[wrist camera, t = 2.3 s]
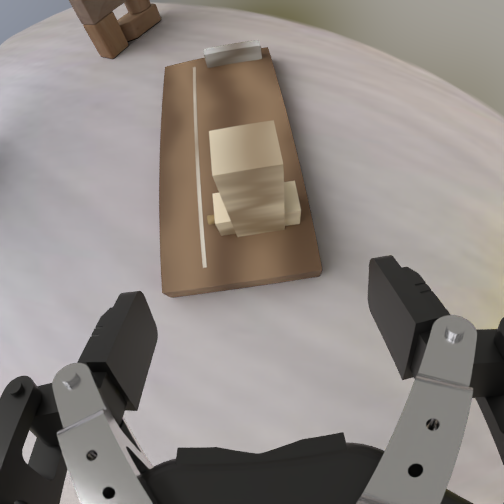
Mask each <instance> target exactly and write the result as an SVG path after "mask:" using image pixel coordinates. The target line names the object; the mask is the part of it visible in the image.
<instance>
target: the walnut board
mask: <svg viewBox="0 0 504 504" xmlns="http://www.w3.org/2000/svg"><path fill="white" fill-rule="evenodd" d="M204 57H205V58H201V59H196V60H192V61H188V62H183V63H179V64H175V65H171V66H167V67H165V75H164V87H163V101H162V117H161V139H160V177H159V218H160V257H161V279H162V293H163V294H165V295H167V296H169V297H179V296H187V295H195V294H203V293H210V292H217V291H225V290H232V289H239V288H246V287H253V286H260V285H267V284H273V283H280V282H286V281H293V280H299V279H306V278H312V277H318V276H320V274H321V272H322V266H321V261H320V255H319V250H318V245H317V240H316V235H315V231H314V226H313V221H312V216H311V212H310V207H309V202H308V198H307V193H306V189H305V185H304V180H303V176H302V172H301V168H300V163H299V159H298V155H297V151H296V147H295V143H294V139H293V135H292V131H291V127H290V124H289V120H288V116H287V112H286V108H285V105H284V101H283V98H282V94H281V90H280V87H279V83H278V80H277V76H276V73H275V69H274V66H273V63H272V59H271V56H270V53H269V49H268V47H267V48H261V45H260V42H259V40H254V41H247V42H240V43H234V44H228V45H222V46H217V47H212V48H207V49H204ZM273 120H274V124H275V129H276V133H277V137H278V142H279V147H280V151H281V156H282V160H283V170H284V182H289V181H295V184H296V189H297V193H298V198H299V203H300V208H301V216H300V224H295V225H288V226H285V230H280V231H273V232H267V233H260V234H254V235H247V236H241V237H237V235H236V234H230V235H223V236H221V234H220V232H219V230H218V228H217V226H216V225H215V224H210V225H209V224H208V220H207V216H208V215H214V206H213V194H214V193H219V191H218V189H217V186H216V184H215V181H214V179H213V176H212V166H211V153H210V139H209V131H212V130H217V129H223V128H228V127H234V126H240V125H246V124H252V123H259V122H266V121H273Z"/></svg>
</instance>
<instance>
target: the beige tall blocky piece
mask: <svg viewBox="0 0 504 504" xmlns="http://www.w3.org/2000/svg"><path fill="white" fill-rule="evenodd" d="M209 139H210V153H211V166H212V176H213V179H214V181H215V184H216V186H217V189H218V191H219V193H214V194H213V206H214V215H208V216H207V220H208V224H209V225H210V224H215V225H216V226H217V228H218V230H219V232H220V234H221V236H223V235H230V234H236V235H237V237H241V236H247V235H254V234H260V233H267V232H273V231H280V230H285V226H288V225H295V224H300V216H301V208H300V203H299V198H298V193H297V189H296V184H295V181H289V182H284V170H283V160H282V156H281V151H280V147H279V142H278V137H277V133H276V129H275V124H274V120H273V121H266V122H259V123H252V124H246V125H240V126H234V127H228V128H223V129H217V130H212V131H209Z"/></svg>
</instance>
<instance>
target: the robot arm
mask: <svg viewBox="0 0 504 504" xmlns="http://www.w3.org/2000/svg"><path fill="white" fill-rule="evenodd" d="M368 303H369V308H370V312H371V314H372V316H373V318H374V320H375V322H376V324H377V326H378V328H379V330H380V332H381V334H382V336H383V339H384V341H385V343H386V345H387V347H388V349H389V351H390V353H391V356H392V358H393V360H394V362H395V364H396V367H397V369H398V371H399V373H400V375H401V378H402V380H404V379H408V378H412V377H414V378H415V381H414V383H413V386H412V389H411V391H410V394H409V397H408V399H407V402H406V404H405V407H404V409H403V412H402V414H401V417H400V419H399V421H398V424H397V426H396V428H395V430H394V433H393V435H392V437H391V439H390V441H389V444H388V446H387V448H386V450H385V451H383V450H381V449H379V448H376V447H373V446H369V445H364V444H358V443H346V441H345V437H344V433H343V432H342V433H337V434H332V435H326V436H321V437H315V438H308V439H302V440H299V441H297V442H294V443H291V444H288V445H285V446H282V447H280V448H277V449H274V450H271V451H267V452H264V453H260V454H255V453H247V452H241V451H235V450H229V449H223V448H218V447H210V448H178V450H177V457H176V459H172V460H169V461H166V462H163V463H161V464H159V465H156V466H153V465H152V464H151V463H150V461H149V460H148V458H147V457H146V455H145V454H144V452H143V450H142V449H141V447H140V445H139V443H138V442H137V440H136V438H135V437H134V435H133V433H132V431H131V429H130V428H129V426H128V424H127V422H126V421H125V419H124V418H123V415H124V411H125V410H130V411H137V410H138V407H139V403H140V399H141V395H142V392H143V388H144V384H145V381H146V377H147V374H148V370H149V367H150V363H151V360H152V356H153V353H154V350H155V346H156V343H157V338H158V333H157V327H156V324H155V321H154V319H153V316H152V314H151V311H150V309H149V306H148V304H147V301H146V299H145V296H144V294H143V293H142V292H141V291H135V292H127V293H121V294H120V295H119V297H118V299H117V301H116V302H115V304H114V306H113V308H110V309H109V310H108V311H107V312H106V313H105V314H104V315H102V316H101V318H100V320H99V322H98V323H97V325H96V329H94V331H93V333H92V337H90V339H89V341H88V343H87V345H86V347H85V348H84V350H83V352H82V354H81V356H80V359H79V361H78V363H73V364H70V365H67V366H65V367H64V368H62V369H61V370H60V371H59V372H58V373H57V374H56V376H55V377H54V379H53V383H50V384H46V385H41V386H36V384H35V383H34V382H33V380H32V379H31V378H30V377H28V376H20V377H17V378H15V379H14V380H12V381H11V382H10V383H9V384H8V385H7V386H6V388H5V390H4V392H3V393H2V395H1V397H0V504H59V503H60V498H61V494H62V489H63V485H64V481H65V477H66V472H67V469H68V472H69V475H70V477H71V480H72V483H73V485H74V488H75V490H76V493H77V495H78V498H79V500H80V503H81V504H473V503H471V502H469V501H467V500H465V499H464V498H462V497H460V496H458V495H457V494H455V493H453V492H451V491H450V490H448V489H446V488H447V485H448V483H449V480H450V477H451V474H452V471H453V468H454V465H455V462H456V459H457V456H458V452H459V449H460V445H461V442H462V438H463V435H464V431H465V427H466V423H467V419H468V414H469V410H470V405H471V400H472V398H476V400H477V402H478V404H479V407H480V409H481V411H482V413H483V415H484V418H485V420H486V422H487V424H488V427H489V429H490V432H491V434H492V436H493V439H494V441H495V444H496V446H497V449H498V451H499V454H500V457H501V459H502V462H503V465H504V317H503V318H502V320H501V321H500V324H499V327H498V329H488V330H476V328H475V327H474V325H473V324H472V323H471V322H470V321H468V320H467V319H465V318H463V317H460V316H455V315H450V314H449V312H448V311H447V310H446V308H445V307H444V306H443V304H442V303H441V302H440V300H439V299H438V298H437V296H436V295H435V294H434V293H433V291H431V289H430V287H429V286H428V285H427V284H425V281H424V280H423V279H422V277H421V276H420V275H419V274H418V273H417V272H415V271H413V270H412V269H410V268H408V267H403V268H402V267H401V266H400V265H399V264H398V262H397V261H396V260H395V258H394V257H393V256H392V255H389V256H383V257H377V258H372V259H371V260H370V263H369V284H368ZM29 430H30V431H31V432H32V433H33V434H34V435H35V436H36V437H37V439H36V442H35V445H34V448H33V451H32V454H31V457H30V460H29V463H28V464H27V463H26V462H25V461H24V459H23V456H22V449H23V446H24V443H25V440H26V437H27V435H28V432H29ZM503 504H504V503H503Z"/></svg>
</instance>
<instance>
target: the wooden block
mask: <svg viewBox="0 0 504 504" xmlns="http://www.w3.org/2000/svg"><path fill="white" fill-rule="evenodd" d="M69 1H70V3H71V5H72V7H73V9H74V11H75V12H76V14H77V16H78V18H79V20H80V21H81V23H82V24H83V26H84V28H85V30H86V31H87V33H88V35H89V37H90V38H91V40H92V42H93V44H94V45H95V47H96V49H97V51H98V52H99V54H100V56H101V57H106V58H110V59H113V58H115V57H116V56H117V55H118V54H119V53H121V52H122V51H123V50H124V49H125V48H126V47H128V42H127V41H130V40H133V39H136V38H138V37H139V36H141V35H142V34H143V33H145V32H146V31H147V30H148V29H150V28H151V27H152V26H154V25H155V24H156V23H158V22H159V21H160V20H161V17H160V15H159V12H158V9H157V7H156V4H150V1H149V0H69ZM123 3H125V6H126V8H127V10H128V13H127V14H126V15H124V16H123V17H121V18H120V19H119V20H117V19H116V17H115V15H114V13H113V12H112V11H113V10H114V9H116V8H117V7H118V6H120V5H121V4H123Z"/></svg>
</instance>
